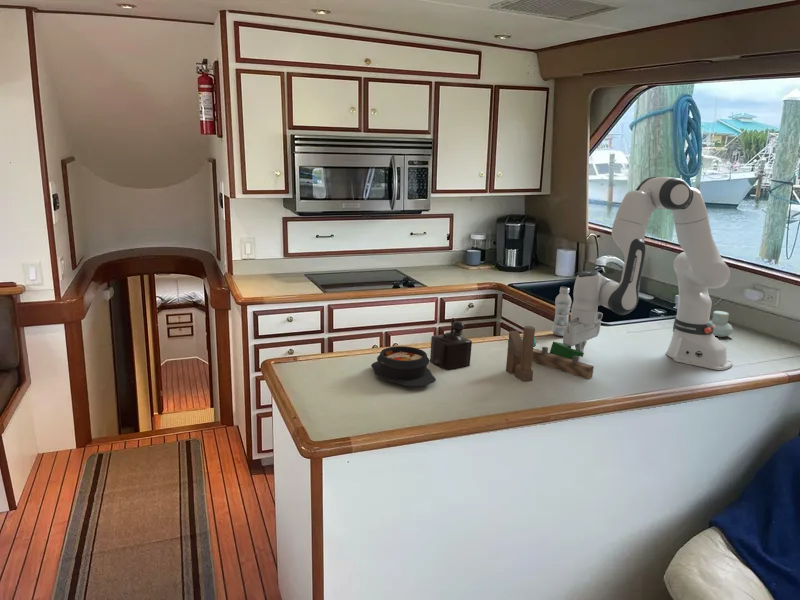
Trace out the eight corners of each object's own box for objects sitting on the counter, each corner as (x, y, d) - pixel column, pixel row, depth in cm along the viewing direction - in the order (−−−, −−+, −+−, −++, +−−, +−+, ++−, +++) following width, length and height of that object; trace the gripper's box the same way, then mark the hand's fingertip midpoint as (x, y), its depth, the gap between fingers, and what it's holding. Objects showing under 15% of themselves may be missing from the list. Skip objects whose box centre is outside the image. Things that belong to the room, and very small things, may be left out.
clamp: (574, 375, 225) (588, 356, 221) (561, 373, 223) (575, 354, 218) (558, 353, 234) (571, 334, 230) (546, 351, 232) (559, 332, 227)
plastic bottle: (559, 338, 252) (564, 290, 248) (548, 333, 258) (553, 286, 253) (571, 337, 255) (577, 289, 250) (560, 332, 261) (565, 285, 256)
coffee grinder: (427, 361, 220) (430, 312, 216) (453, 357, 226) (456, 308, 221) (453, 376, 207) (456, 324, 203) (480, 371, 213) (484, 320, 209)
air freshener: (700, 331, 272) (704, 309, 269) (718, 331, 272) (722, 309, 270) (715, 339, 261) (719, 316, 259) (734, 339, 262) (738, 316, 259)
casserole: (357, 370, 209) (358, 346, 207) (403, 361, 220) (404, 338, 218) (401, 396, 190) (402, 370, 187) (449, 385, 200) (450, 360, 198)
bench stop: (592, 377, 212) (594, 360, 210) (588, 379, 210) (590, 362, 208) (531, 358, 228) (532, 342, 227) (526, 360, 226) (528, 344, 224)
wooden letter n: (514, 369, 216) (518, 319, 211) (532, 381, 206) (538, 328, 202) (505, 371, 214) (509, 320, 210) (523, 382, 205) (528, 329, 200)
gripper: (577, 322, 215) (572, 361, 219) (605, 313, 230) (600, 349, 233) (560, 318, 220) (556, 356, 223) (589, 309, 234) (585, 344, 237)
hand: (579, 352), depth 228 cm, fingers closed
